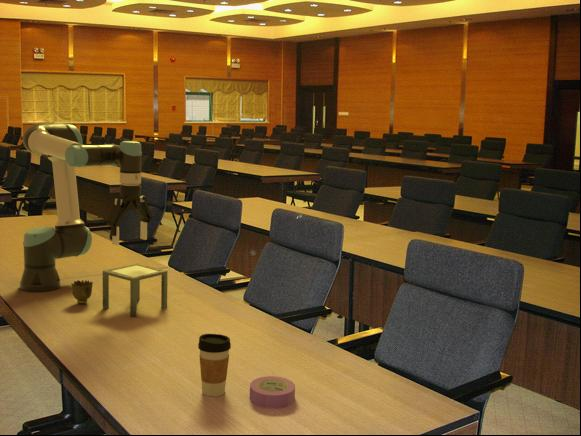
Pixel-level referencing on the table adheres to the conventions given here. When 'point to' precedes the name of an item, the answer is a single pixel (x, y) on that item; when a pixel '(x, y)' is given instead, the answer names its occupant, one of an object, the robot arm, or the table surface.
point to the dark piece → (82, 291)
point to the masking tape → (272, 392)
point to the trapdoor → (134, 271)
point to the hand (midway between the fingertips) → (129, 241)
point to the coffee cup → (214, 363)
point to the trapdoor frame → (134, 287)
